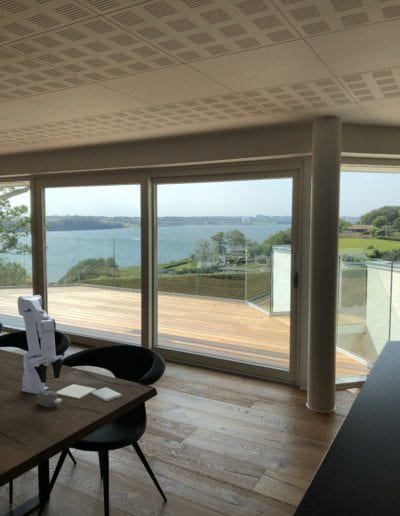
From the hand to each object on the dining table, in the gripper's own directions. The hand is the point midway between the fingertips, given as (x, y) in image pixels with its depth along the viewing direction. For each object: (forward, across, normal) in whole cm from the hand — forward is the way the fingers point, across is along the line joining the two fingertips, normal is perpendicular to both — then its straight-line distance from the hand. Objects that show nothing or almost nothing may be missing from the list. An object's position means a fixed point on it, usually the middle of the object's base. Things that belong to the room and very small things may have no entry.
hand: (50, 380), depth 181 cm
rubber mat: (+9, +16, +1) cm, 18 cm away
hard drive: (+12, +19, -14) cm, 26 cm away
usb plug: (+10, 0, +1) cm, 10 cm away
